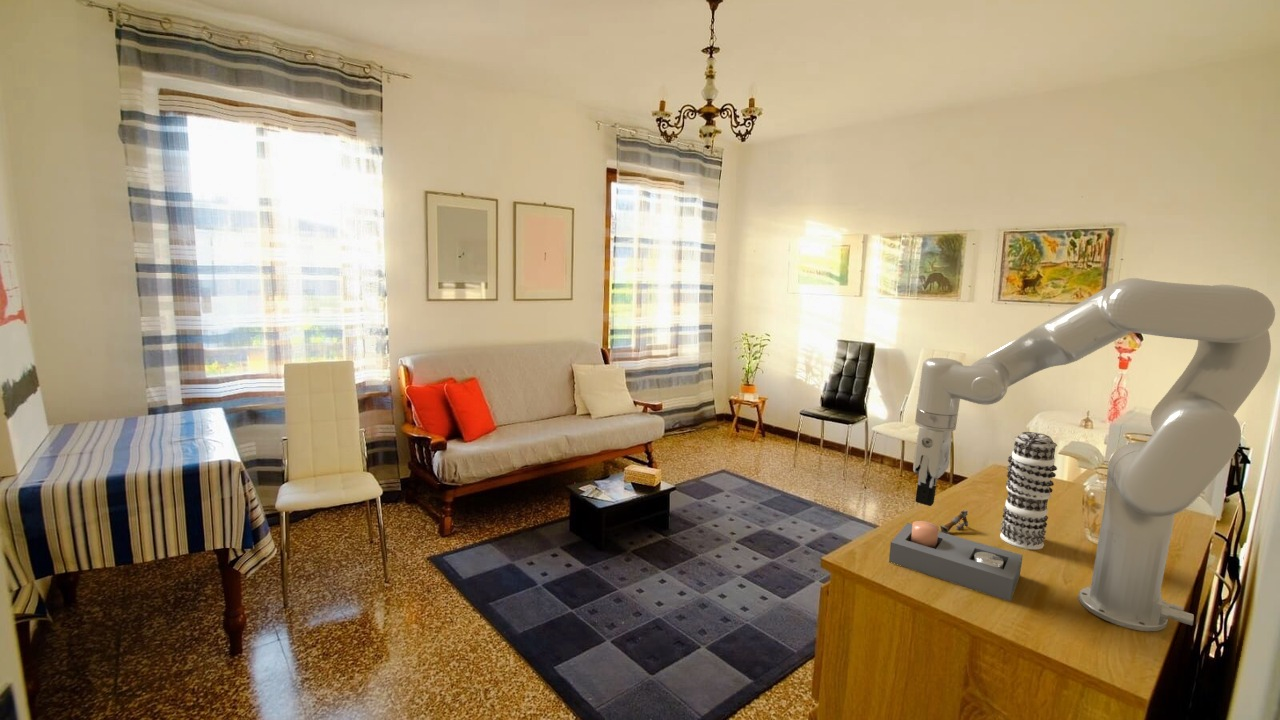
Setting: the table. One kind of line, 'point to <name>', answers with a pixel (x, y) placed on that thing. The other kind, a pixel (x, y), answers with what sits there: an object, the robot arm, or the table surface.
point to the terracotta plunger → (925, 533)
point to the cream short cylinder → (989, 559)
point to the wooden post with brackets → (955, 521)
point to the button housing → (958, 562)
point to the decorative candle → (1028, 490)
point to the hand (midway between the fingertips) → (924, 502)
